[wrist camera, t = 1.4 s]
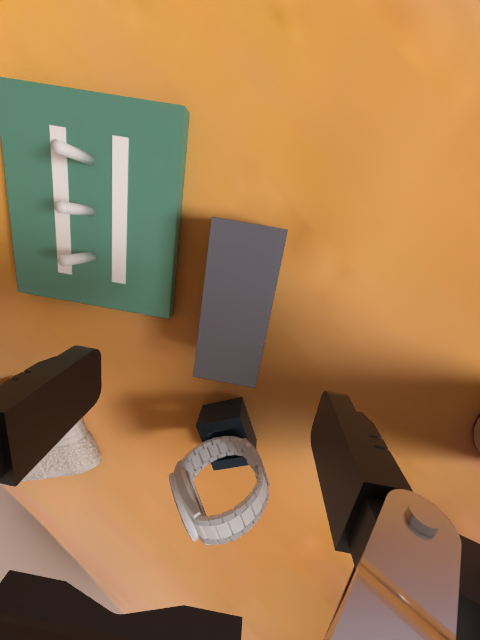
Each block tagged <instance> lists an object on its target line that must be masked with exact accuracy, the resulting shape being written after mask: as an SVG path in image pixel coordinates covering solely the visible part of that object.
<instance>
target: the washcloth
mask: <svg viewBox="0 0 480 640" xmlns="http://www.w3.org/2000/svg"><path fill="white" fill-rule="evenodd" d="M1 384H2V383H0V385H1ZM100 462H101V455H100V452H99V448H98V446H97V444H96V442H95V441H94V439H93V438H92V434H91V433H90V432H89V431H88V430H87V428H86V426H85V423H84V422H83V419H82V418H81V419H80V420H79V421H78V422H77V423H76V425H75V426H74V427H73V428H72V429H71V430H70V431H69V432H68V433H67V434H66V435H65V436H64V437H63V438H62V439H61V440H60V441H59V442H58V443H57V444H56V445H55V446H54V447H53V448H52V449H51V450H50V452H49V453H48V454H47V455H46V456H45V457H44V458H43V459H42V460H41V461H40V462H39V463H38V464H37V465H36V466H35V467H34V468H33V469H32V470H31V471H30V472H29V473H28V474H27V475H26V476H25V478H24V479H23V480H22V481H29V480H41V479H48V478H52V477H57V476H66V475H67V476H68V475H77V474H80V473H83V472H85V471H87V470H90V469H92V468H94V467H96V466H97V465H98V464H99V463H100ZM22 481H21V482H22ZM0 485H2V486H4V485H5V484H0Z"/></svg>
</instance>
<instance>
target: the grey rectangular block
mask: <svg viewBox="0 0 480 640" xmlns="http://www.w3.org/2000/svg"><path fill="white" fill-rule="evenodd" d="M287 232H288V230H287V229H281V228H275V227H269V226H263V225H257V224H251V223H245V222H239V221H234V220H228V219H222V218H216V217H212V219H211V228H210V236H209V245H208V254H207V262H206V271H205V279H204V288H203V296H202V305H201V313H200V322H199V331H198V339H197V348H196V356H195V365H194V373H193V377H198V378H203V379H209V380H214V381H219V382H225V383H230V384H236V385H241V386H246V387H252V388H255V387H256V382H257V377H258V372H259V367H260V362H261V358H262V353H263V348H264V343H265V338H266V333H267V328H268V324H269V319H270V314H271V309H272V304H273V299H274V295H275V290H276V285H277V280H278V275H279V270H280V265H281V261H282V256H283V251H284V246H285V241H286V236H287Z"/></svg>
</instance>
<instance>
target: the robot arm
mask: <svg viewBox="0 0 480 640" xmlns="http://www.w3.org/2000/svg"><path fill="white" fill-rule="evenodd" d="M100 393H101V353H100V351H99V350H98V349H93V348H88V347H82V346H73V347H71V348H70V349H68V350H66V351H65V352H63V353H61V354H60V355H58V356H56V357H53V358H50V359H47V360H44V361H41V362H38V363H36V364H35V365H33V366H31V367H30V368H28V369H26V370H25V371H24V373H23V372H21V373H19V374H18V375H16V376H14V377H13V378H12V380H10V379H9V380H8V381H6V382H4V383H2V384H1V385H0V484H5V485H10V486H17V485H18V484H19V483H20V482H21V481H22V480H23V479H24V478H25V476H26V475H27V474H28V473H29V472H30V471H31V470H32V469H33V468H34V467H35V466H36V465H37V464H38V463H39V462H40V461H41V460H42V459H43V458H44V457H45V456H46V455H47V454H48V453H49V452H50V450H51V449H52V448H53V447H54V446H55V445H56V444H57V443H58V442H59V441H60V440H61V439H62V438H63V437H64V436H65V435H66V434H67V433H68V432H69V431H70V430H71V429H72V428H73V427H74V426H75V425H76V423H77V422H78V421H79V420H80V419H81V418H82V417H83V416H84V415H85V414H86V413H87V412H88V411H89V410H90V409H91V408H92V407H93V406H94V405H95V403H96V402H97V400H98V398H99V396H100ZM473 437H474V443H475V446H476V448H477V450H478V451H479V452H480V417H479V418H478V420H477V423H476V425H475V427H474V434H473ZM311 447H312V451H313V455H314V460H315V464H316V469H317V473H318V477H319V482H320V486H321V491H322V495H323V499H324V504H325V508H326V512H327V517H328V521H329V526H330V530H331V534H332V539H333V543H334V547H335V550H336V551H341V552H346V553H351V555H352V558H353V562H354V568H353V570H352V572H351V574H350V577H349V579H348V581H347V584H346V586H345V589H344V591H343V593H342V596H341V598H340V601H339V603H338V605H337V608H336V610H335V613H334V615H333V617H332V620H331V622H330V624H329V627H328V629H327V632H326V634H325V636H324V639H323V640H480V544H478V543H476V542H474V541H472V540H470V539H468V538H465V537H463V536H461V535H459V534H458V531H457V529H456V528H455V526H454V525H453V523H452V522H451V521H450V519H449V518H448V517H447V516H446V515H445V514H444V513H443V512H442V511H441V510H440V509H439V508H438V507H437V506H436V505H434V504H433V503H432V502H430V501H429V500H427V499H426V498H424V497H423V496H421V495H419V494H417V493H414V492H413V491H412V489H411V487H410V485H409V484H408V482H407V480H406V479H405V477H404V475H403V473H402V472H401V470H400V468H399V466H398V465H397V463H396V461H395V459H394V458H393V456H392V454H391V453H390V451H388V447H387V446H386V444H385V442H384V440H382V439H381V435H380V434H379V432H378V430H377V428H376V427H375V425H374V424H373V423H372V422H371V421H370V420H369V419H368V418H367V417H366V416H365V415H364V414H363V413H361V412H356V410H355V408H354V406H353V404H352V402H351V400H350V398H349V397H348V396H347V395H344V394H339V393H333V392H328V391H325V392H323V394H322V396H321V399H320V403H319V406H318V409H317V412H316V416H315V419H314V422H313V426H312V430H311ZM241 631H242V617H239V616H234V615H229V614H224V613H219V612H214V611H209V610H204V609H199V608H195V607H190V606H185V605H184V606H177V607H170V608H163V609H157V610H150V611H143V612H136V613H129V614H115V613H113V612H111V611H109V610H107V609H106V608H105V607H103V606H102V605H100V604H99V603H97V602H95V601H94V600H93V599H91V598H90V597H88V596H86V595H85V594H84V593H82V592H81V591H79V590H78V589H76V588H75V587H73V586H72V585H70V584H69V583H67V582H66V581H61V580H56V579H51V578H46V577H41V576H36V575H32V574H27V573H22V572H17V571H12V570H10V571H9V572H8V573H7V574H6V576H5V577H4V579H3V580H2V581H1V583H0V640H241Z"/></svg>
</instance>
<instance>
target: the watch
mask: <svg viewBox="0 0 480 640" xmlns="http://www.w3.org/2000/svg"><path fill="white" fill-rule="evenodd" d="M196 427H197V430H198V432H199V435H200V437H201V440H202V442H203V443H202V444H200V445H198V446H196V447H195V448H193V450H191V451H190V452H189V453H188V454H187V455H186V456H185V457H184V458H183V459H182V460H180V461H179V462H178V463H177V464H176V466H175V469H174V473H170V474H169V481H170V485H171V489H172V493H173V496H174V499H175V503H176V505H177V508H178V511H179V514H180V516H181V519H182V521H183V523H184V526H185V528H186V531H187V532H188V534H189V536H190V538H191V539H192V540H193V541H194V542H195V541H196V540H197V538H199V539H200V540H201V541H202V542H203V543H204V544H205V545H207V546H208V545H215V544H224V543H228V542H230V541H233V540H235V539H237V538H239V537H241V536H242V535H243V534H245V533H246V532H248V531H249V530H250V529H251V528H252V527H253V525H254V524H255V523H256V522H257V521H258V520H259V518H260V517H261V515H262V513H263V511H264V509H265V507H266V504H267V501H268V495H269V492H268V491H269V488H268V486H269V485H270V484H269V481H268V478H267V475H266V472H265V469H264V466H263V463H262V460H261V458H260V456H259V454H258V452H257V450H256V442H257V440H256V437H255V434H254V431H253V428H252V425H251V422H250V419H249V416H248V413H247V410H246V407H245V404H244V400H243V397H241V398H236V399H231V400H226V401H221V402H217V403H212V404H207V405H203V406H202V409H201V412H200V415H199V418H198V421H197V424H196ZM202 445H203V446H202ZM198 453H199V454H198ZM200 458H201V459H200ZM208 460H209V461H208ZM209 462H210V463H211V465H212V467H213V469H214V470H220V469H226V468H233V467H239V466H245V465H250V466H251V468H252V469H253V470H254V472H255V473H256V478H257V481H258V482H256V484H255V486H254V488H253V490H252V491H253V492H251V493H250V494H249V495H248V496H247V497H246V498H245V500H244V501H245V502H244V501H242V502H241V503H239V504H238V505H237V506H235V507H234V511H233V509H230V510H228V511H226V512H224V513H222V514H221V515H220V514H218V515H212V516H209V518H208V516H206V513H205V511H204V508H203V505H202V503H201V500H200V498H199V495H198V493H197V490H196V488H195V486H194V483H193V480H194V478H195V476H197V474H198V473H199V472H200V471H201V469H203V468H204V467H206V466H207V465H208V464H209ZM200 467H201V468H200ZM234 512H235V513H234ZM240 515H241V516H240ZM241 518H242V519H241ZM242 520H243V521H242ZM228 523H229V524H228ZM243 523H244V524H243ZM231 530H232V531H231ZM241 530H242V531H241ZM242 532H243V533H242Z"/></svg>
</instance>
